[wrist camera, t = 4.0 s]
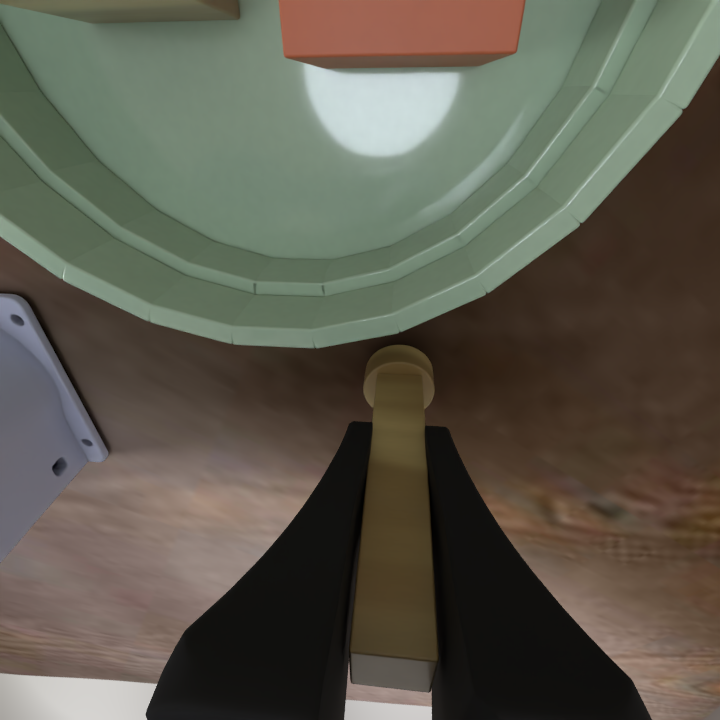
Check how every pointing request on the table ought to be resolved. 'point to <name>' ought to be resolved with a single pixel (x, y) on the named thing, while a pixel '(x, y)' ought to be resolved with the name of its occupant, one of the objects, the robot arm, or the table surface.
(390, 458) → the muddler
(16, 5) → the maple block
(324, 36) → the rust block
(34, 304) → the table surface
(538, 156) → the bowl
